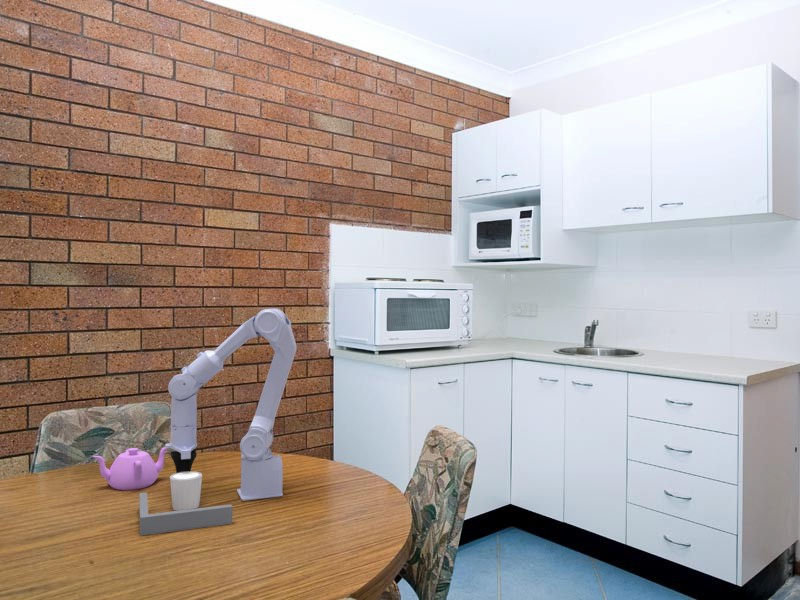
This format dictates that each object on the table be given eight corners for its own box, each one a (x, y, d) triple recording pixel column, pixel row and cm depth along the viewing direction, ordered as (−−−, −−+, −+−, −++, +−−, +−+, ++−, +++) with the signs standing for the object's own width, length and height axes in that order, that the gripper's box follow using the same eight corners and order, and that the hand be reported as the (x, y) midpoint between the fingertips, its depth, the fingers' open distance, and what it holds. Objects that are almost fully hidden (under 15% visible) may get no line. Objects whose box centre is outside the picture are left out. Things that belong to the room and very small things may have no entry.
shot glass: (191, 513, 132) (192, 480, 132) (162, 510, 133) (163, 478, 133) (207, 502, 138) (208, 471, 138) (180, 500, 140) (180, 469, 140)
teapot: (170, 478, 156) (170, 444, 156) (133, 495, 143) (133, 458, 143) (130, 474, 159) (131, 440, 159) (91, 490, 146) (91, 453, 146)
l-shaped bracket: (221, 499, 140) (222, 484, 140) (232, 523, 126) (232, 506, 126) (139, 509, 133) (139, 493, 133) (140, 535, 119) (140, 517, 119)
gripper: (164, 419, 148) (163, 475, 149) (167, 432, 135) (166, 493, 135) (194, 417, 151) (193, 472, 151) (200, 429, 138) (199, 489, 138)
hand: (183, 482), depth 143 cm, fingers closed
